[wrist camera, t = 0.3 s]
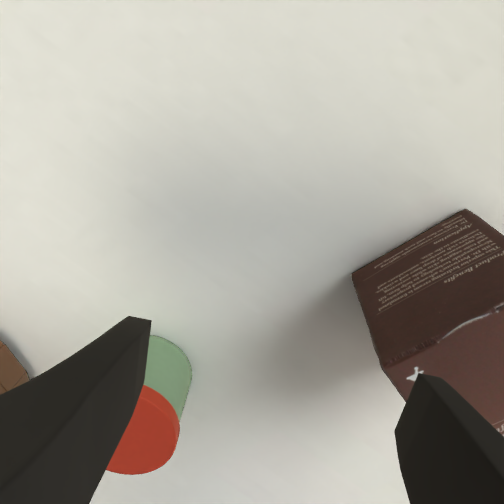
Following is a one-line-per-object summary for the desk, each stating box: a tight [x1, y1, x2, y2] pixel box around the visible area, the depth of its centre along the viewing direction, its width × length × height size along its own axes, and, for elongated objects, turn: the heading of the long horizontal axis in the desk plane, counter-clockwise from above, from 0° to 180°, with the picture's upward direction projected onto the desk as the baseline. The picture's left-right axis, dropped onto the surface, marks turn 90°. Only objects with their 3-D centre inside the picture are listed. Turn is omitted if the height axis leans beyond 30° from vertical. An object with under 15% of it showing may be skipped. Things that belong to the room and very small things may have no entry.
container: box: [106, 335, 192, 475], centre depth 22 cm, size 5×5×5 cm
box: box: [351, 209, 504, 436], centre depth 18 cm, size 6×6×7 cm
